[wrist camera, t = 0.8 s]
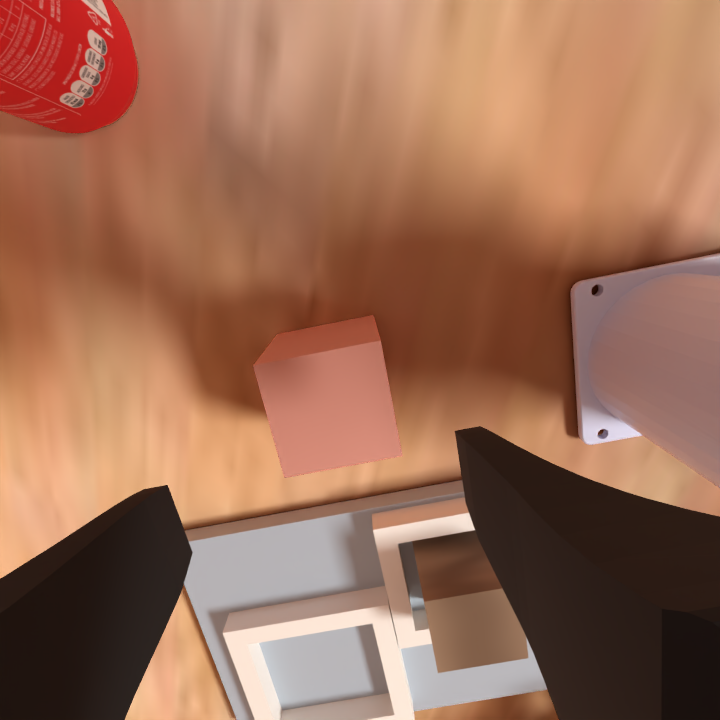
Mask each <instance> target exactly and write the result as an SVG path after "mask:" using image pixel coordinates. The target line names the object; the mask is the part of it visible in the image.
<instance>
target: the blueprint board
mask: <svg viewBox="0 0 720 720" xmlns="http://www.w3.org/2000/svg"><path fill="white" fill-rule="evenodd" d="M472 530H475V529H474V526H473V523H472V520H471V517H470V514H469V511H468V508H467V506H466V502H465V495H464V488H463V482H462V480H459V481H453V482H448V483H442V484H437V485H431V486H426V487H420V488H415V489H409V490H404V491H398V492H393V493H388V494H382V495H377V496H371V497H366V498H360V499H355V500H349V501H344V502H338V503H333V504H327V505H322V506H316V507H311V508H305V509H300V510H294V511H289V512H283V513H278V514H272V515H267V516H261V517H256V518H250V519H245V520H240V521H234V522H229V523H223V524H218V525H212V526H207V527H201V528H196V529H190V530H185V533H186V536H187V539H188V541H189V544H190V547H191V549H192V552H193V553H192V557H191V561H190V564H189V568H188V571H187V575H186V578H185V581H184V585H185V588H186V590H187V593H188V596H189V598H190V601H191V603H192V606H193V608H194V611H195V614H196V616H197V619H198V621H199V624H200V626H201V629H202V632H203V634H204V637H205V639H206V642H207V644H208V647H209V650H210V652H211V655H212V657H213V660H214V662H215V665H216V668H217V670H218V673H219V675H220V678H221V680H222V683H223V686H224V688H225V691H226V693H227V696H228V698H229V701H230V704H231V706H232V709H233V711H234V714H235V716H236V719H237V720H415V717H414V711H419V710H425V709H431V708H438V707H444V706H450V705H456V704H462V703H468V702H475V701H481V700H487V699H493V698H499V697H505V696H511V695H518V694H524V693H530V692H536V691H542V690H547V687H546V684H545V682H544V679H543V677H542V674H541V671H540V669H539V666H538V664H537V661H536V659H535V656H534V653H533V651H532V649H531V647H530V644H529V642H528V640H527V638H526V640H527V649H528V658H527V659H521V660H515V661H509V662H503V663H497V664H491V665H484V666H478V667H472V668H466V669H460V670H454V671H448V672H442V673H438V671H437V666H436V661H435V656H434V651H433V646H432V641H431V636H430V631H429V625H428V620H427V615H426V610H425V605H424V600H423V595H422V590H421V585H420V579H419V574H418V569H417V564H416V559H415V554H414V549H413V543H412V541H416V540H422V539H427V538H433V537H439V536H444V535H450V534H455V533H461V532H467V531H472Z"/></svg>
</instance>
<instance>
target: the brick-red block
mask: <svg viewBox="0 0 720 720" xmlns="http://www.w3.org/2000/svg"><path fill="white" fill-rule="evenodd" d="M253 368H254V372H255V375H256V379H257V382H258V386H259V389H260V393H261V396H262V400H263V403H264V407H265V411H266V414H267V418H268V421H269V425H270V428H271V432H272V435H273V439H274V442H275V446H276V450H277V453H278V457H279V460H280V464H281V467H282V471H283V474H284V478H287V477H292V476H298V475H303V474H308V473H314V472H319V471H325V470H330V469H335V468H341V467H346V466H351V465H357V464H362V463H368V462H373V461H378V460H384V459H389V458H395V457H400V456H402V450H401V445H400V440H399V435H398V429H397V424H396V419H395V413H394V408H393V403H392V398H391V392H390V387H389V382H388V376H387V371H386V366H385V361H384V355H383V350H382V345H381V340H380V336H379V333H378V329H377V325H376V322H375V318H374V315H370V316H365V317H360V318H355V319H350V320H345V321H340V322H335V323H330V324H325V325H320V326H315V327H310V328H305V329H300V330H295V331H290V332H285V333H280V334H277V335H276V336H275V337H274V339H273V340H272V341H271V343H270V344H269V345H268V346H267V348H266V349H265V350H264V352H263V353H262V354H261V356H260V357H259V358H258V359H257V361H256V362H255V363H254V365H253Z"/></svg>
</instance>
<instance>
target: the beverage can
mask: <svg viewBox="0 0 720 720" xmlns="http://www.w3.org/2000/svg"><path fill="white" fill-rule="evenodd" d="M138 81H139V68H138V61H137V57H136V53H135V50H134V47H133V44H132V40H131V36H130V33H129V30H128V28H127V26H126V23H125V21H124V19H123V17H122V15H121V14H120V12H119V10H118V9H117V7H116V6H115V4H114V3H113V2H112V0H0V111H3V112H6V113H9V114H11V115H14V116H17V117H20V118H22V119H25V120H28V121H31V122H34V123H36V124H39V125H42V126H45V127H47V128H50V129H53V130H57V131H60V132H66V133H85V132H90V131H93V130H96V129H99V128H102V127H106V126H108V125H111V124H113V123H114V122H116V121H118V120H119V119H120V118H121V117H122V116H124V114H125V113H126V112H127V111H128V110H129V108H130V107H131V105H132V103H133V101H134V99H135V96H136V93H137V88H138Z"/></svg>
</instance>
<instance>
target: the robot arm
mask: <svg viewBox="0 0 720 720" xmlns="http://www.w3.org/2000/svg"><path fill="white" fill-rule="evenodd" d="M595 285H598V292H597V293H596V294H594V295H592V293H591V290H592V288H593V286H595ZM570 295H571V312H572V329H573V347H574V364H575V382H576V399H577V416H578V434H579V438H580V439H581V440H582V441H583V442H584V443H586V444H588V445H593V444H599V443H604V442H610V441H615V440H620V439H626V438H631V437H637V436H642V435H643V436H645V437H646V438H648V439H649V440H650V441H652V442H653V443H655V444H656V445H658V446H659V447H661V448H662V449H664V450H665V451H667V452H668V453H670V454H671V455H672V456H674V457H675V458H677V459H678V460H680V461H681V462H683V463H684V464H686V465H687V466H689V467H690V468H692V469H693V470H694V471H696V472H697V473H699V474H700V475H702V476H703V477H705V478H706V479H708V480H709V481H711V482H712V483H714V484H715V485H716V486H718V487H719V488H720V253H718V254H712V255H707V256H702V257H697V258H692V259H687V260H682V261H677V262H672V263H667V264H662V265H657V266H652V267H647V268H642V269H637V270H632V271H627V272H622V273H617V274H612V275H607V276H602V277H596V278H591V279H586V280H581V281H579V282H577V283H575V284H574V285H573V287H572V289H571V294H570ZM602 429H604V431H603V433H602V434H600V435H598V432H599V431H600V430H602ZM455 434H456V441H457V448H458V454H459V461H460V468H461V475H462V482H463V488H464V495H465V502H466V506H467V508H468V511H469V514H470V517H471V520H472V523H473V526H474V529H475V531H476V534H477V537H478V540H479V542H480V544H481V546H482V548H483V550H484V552H485V554H486V556H487V558H488V560H489V562H490V564H491V566H492V568H493V570H494V572H495V574H496V576H497V578H498V580H499V582H500V584H501V586H502V589H503V591H504V593H505V595H506V597H507V599H508V601H509V603H510V605H511V607H512V609H513V611H514V613H515V615H516V617H517V619H518V621H519V623H520V625H521V627H522V629H523V631H524V633H525V635H526V638H527V640H528V642H529V644H530V647H531V649H532V651H533V653H534V656H535V659H536V661H537V664H538V666H539V669H540V671H541V674H542V677H543V679H544V682H545V684H546V687H547V689H548V692H549V694H550V697H551V700H552V702H553V705H554V707H555V710H556V713H557V715H558V718H559V720H720V517H719V516H714V515H710V514H705V513H701V512H696V511H692V510H688V509H684V508H680V507H677V506H673V505H669V504H665V503H662V502H658V501H654V500H650V499H647V498H643V497H640V496H637V495H633V494H630V493H627V492H624V491H621V490H618V489H615V488H613V487H610V486H607V485H604V484H601V483H598V482H595V481H593V480H590V479H587V478H585V477H582V476H580V475H577V474H575V473H573V472H570V471H568V470H566V469H564V468H561V467H559V466H557V465H554V464H552V463H550V462H548V461H546V460H544V459H542V458H540V457H538V456H536V455H534V454H532V453H530V452H528V451H526V450H524V449H522V448H520V447H518V446H516V445H514V444H513V443H511V442H509V441H507V440H505V439H503V438H502V437H500V436H498V435H496V434H494V433H493V432H491V431H489V430H487V429H485V428H483V427H481V426H479V427H474V428H468V429H463V430H458V431H455ZM192 553H193V552H192V549H191V547H190V544H189V541H188V539H187V536H186V533H185V531H184V528H183V525H182V523H181V520H180V517H179V515H178V512H177V509H176V507H175V504H174V501H173V499H172V496H171V493H170V490H169V488H168V485H165V486H159V487H154V488H149V489H144V490H142V491H140V492H138V493H136V494H134V495H132V496H130V497H128V498H127V499H125V500H123V501H122V502H120V503H118V504H117V505H115V506H113V507H112V508H110V509H109V510H107V511H106V512H104V513H103V514H101V515H99V516H98V517H96V518H95V519H93V520H92V521H90V522H89V523H87V524H86V525H84V526H83V527H81V528H80V529H78V530H77V531H75V532H74V533H72V534H71V535H69V536H67V537H66V538H64V539H63V540H61V541H60V542H58V543H57V544H55V545H54V546H52V547H50V548H49V549H47V550H46V551H44V552H43V553H41V554H39V555H38V556H36V557H35V558H33V559H31V560H30V561H28V562H27V563H25V564H23V565H22V566H20V567H19V568H17V569H15V570H14V571H12V572H11V573H9V574H7V575H6V576H4V577H3V578H1V579H0V720H125V717H126V715H127V712H128V710H129V708H130V705H131V703H132V700H133V698H134V695H135V693H136V691H137V689H138V687H139V684H140V682H141V680H142V678H143V676H144V674H145V671H146V669H147V667H148V665H149V663H150V660H151V658H152V656H153V654H154V652H155V649H156V647H157V645H158V643H159V641H160V639H161V636H162V634H163V632H164V630H165V628H166V625H167V623H168V621H169V619H170V616H171V614H172V612H173V610H174V607H175V605H176V603H177V601H178V598H179V596H180V594H181V591H182V587H183V584H184V581H185V578H186V575H187V571H188V568H189V564H190V561H191V557H192Z"/></svg>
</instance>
